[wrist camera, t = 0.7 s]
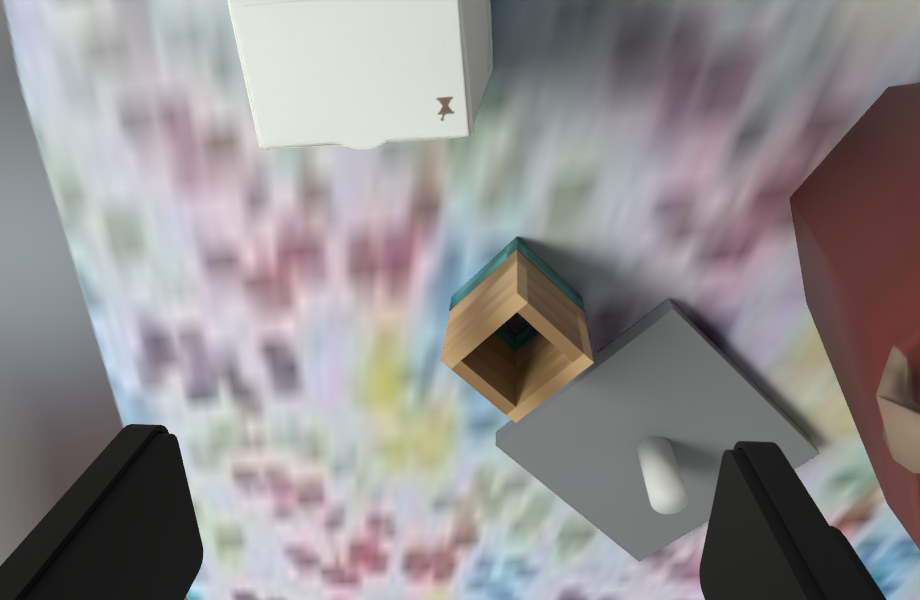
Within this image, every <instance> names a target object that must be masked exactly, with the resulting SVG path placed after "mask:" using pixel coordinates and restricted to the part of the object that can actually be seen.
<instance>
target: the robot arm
mask: <svg viewBox="0 0 920 600" xmlns="http://www.w3.org/2000/svg"><path fill="white" fill-rule="evenodd" d="M202 560H203V545H202V541H201V537H200V533H199V528H198V524H197V520H196V516H195V511H194V507H193V503H192V499H191V494H190V490H189V486H188V482H187V478H186V473H185V469H184V465H183V461H182V456H181V452H180V448H179V444H178V440H177V437H176V436H175V435H174V434H169V432H168V430H167V429H166V427H165V426H162V425H143V424H130V425H127V426H126V427H124V428H123V429H122V430H121V431H120V432H119V433H118V435H117V436H116V437H115V438H114V439H113V440H112V441H111V442H110V444H109V445H108V446H107V447H106V448H105V449H104V450H103V452H102V453H101V454H100V455H99V456H98V457H97V458H96V459H95V460H94V462H93V463H92V464H91V465H90V466H89V467H88V469H86V471H85V472H84V473H83V474H82V475H81V476H80V477H79V478H78V480H77V481H76V482H75V483H74V484H73V485H72V486H71V487H70V489H69V490H68V491H67V492H66V493H65V494H64V496H63V497H62V498H61V499H60V500H59V501H58V502H57V503H56V504H55V506H54V507H53V508H52V509H51V510H50V511H49V512H48V513H47V514H46V516H45V517H44V518H43V519H42V520H41V521H40V522H39V524H38V525H37V526H36V527H35V528H34V529H33V530H32V531H31V532H30V534H29V535H28V536H27V537H26V538H25V539H24V540H23V541H22V543H21V544H20V545H19V546H18V547H17V548H16V549H15V551H14V552H13V553H12V554H11V555H10V556H9V557H8V558H7V559H6V561H5V562H4V563H3V564H2V565H1V566H0V600H184V598H185V597H186V595H187V593H188V591H189V589H190V587H191V585H192V583H193V581H194V580H195V578H196V576H197V574H198V572H199V570H200V567H201V564H202ZM700 584H701V588H702V592H703V595H704V598H705V600H886V598H885V597H884V595H883V594H882V592H881V590H880V589H879V587H878V586H877V584H876V583H875V581H874V580H873V578H872V577H871V575H870V574H869V572H868V571H867V569H866V567H865V566H864V564H863V563H862V561H861V560H860V558H859V557H858V555H857V554H856V552H855V551H854V549H853V548H852V546H851V544H850V543H849V541H848V540H847V538H846V537H845V536H844V535H843V534H842V532H841V531H840V530H838V529H837V528H835V527H833V526H829V524H828V523H827V521H826V520H825V518H824V517H823V515H822V513H821V512H820V510H819V509H818V507H817V506H816V504H815V502H814V501H813V499H812V498H811V496H810V495H809V493H808V491H807V490H806V488H805V487H804V485H803V484H802V482H801V480H800V479H799V477H798V476H797V474H796V472H795V471H794V469H793V468H792V466H791V465H790V463H789V461H788V460H787V458H786V457H785V455H784V454H783V452H782V450H781V449H780V447H779V446H778V445H777V444H776V443H774V442H757V441H739V442H737V443H736V444H735V446H734V449H733V450H725V451H724V453H723V456H722V461H721V466H720V470H719V475H718V480H717V485H716V490H715V495H714V500H713V505H712V510H711V515H710V519H709V524H708V529H707V534H706V539H705V544H704V549H703V554H702V559H701V564H700Z"/></svg>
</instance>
